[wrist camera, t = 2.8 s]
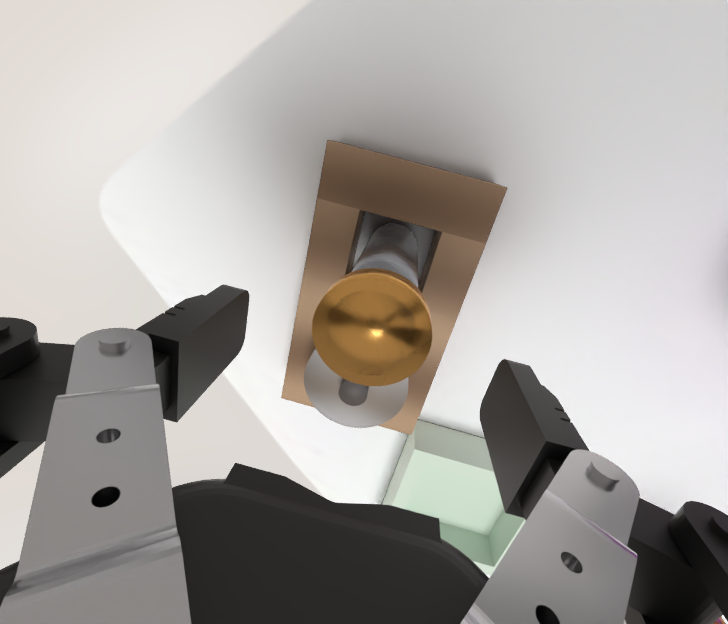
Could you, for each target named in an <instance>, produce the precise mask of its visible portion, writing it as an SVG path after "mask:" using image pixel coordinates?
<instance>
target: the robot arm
mask: <svg viewBox="0 0 728 624" xmlns="http://www.w3.org/2000/svg"><path fill="white" fill-rule="evenodd" d="M248 305H249V293H248V291H246V290H243V289H239V288H235V287H231V286H227V285H221V286H220V287H218V288H217V289H215V290H213V291H212V292H210V293H209V294H207V295H206V296H205V295H199V296H195V297H192V298H188V299H185V300H183V301H182V302H180V303H179V304H177V305H175V307H174V308H173V307H172V308H170V309H169V310H167V311H166V312H165V314H164V313H162V314H161V315H159V316H157V317H156V318H154V319H152V320H151V321H149V322H147V323H146V324H144V325H142V326H141V327H139V328H138V329H136V330H134V329H127V328H109V329H103V330H98V331H95V332H92V333H89V334H87V335H85V336H83V337H81V338H80V339H79V340H78V341H77V342H76V344H75V345H67V344H54V343H40V342H38V336H37V329H36V326H35V325H34V324H33V323H31V322H29V321H26V320H23V319H18V318H4V317H0V478H1V477H2V476H4V475H5V474H6V473H7V472H8V471H10V470H11V469H12V468H13V467H14V466H16V465H17V464H18V463H19V462H20V461H22V460H23V459H24V458H25V457H26V456H27V455H29V454H30V453H31V452H32V451H34V450H35V449H36V448H37V447H38V446H40V445H41V444H42V443H43V442H44V441H46V443H45V447H44V451H43V456H42V461H41V465H40V470H39V474H38V479H37V483H36V488H35V492H34V497H33V502H32V506H31V511H30V515H29V520H28V524H27V529H26V533H25V538H24V542H23V547H22V551H21V556H20V560H19V561H18V562H16V563H14V564H12V565H9V566H7V567H5V568H3V569H1V570H0V624H624V619H625V621H626V624H713V623H714V622H715V621H716V620H717V619H719V618H720V617H721V616H722V615H724V616H725V618H726V619H727V621H728V515H726V514H724V513H723V512H721V511H719V510H717V509H715V508H713V507H711V506H709V505H706V504H703V503H700V502H695V501H689V502H686V503H685V504H684V505H683V506H682V507H681V508H680V510H679V511H678V512H677V513H676V514H675V515H674V514H672V513H670V512H668V511H666V510H664V509H662V508H659V507H657V506H655V505H653V504H651V503H649V502H647V501H645V500H643V499H641V498H639V496H640V494H639V490H638V488H637V486H636V485H635V483H634V482H633V480H632V479H631V478H630V477H629V476H628V475H627V474H626V473H625V472H624V471H623V470H622V469H621V468H619V467H618V466H617V465H615V464H614V463H613V462H611V461H609V460H608V459H606V458H604V457H602V456H600V455H598V454H596V453H593V452H590V451H589V449H588V448H587V446H586V444H585V443H584V441H583V440H582V438H581V436H580V435H579V433H578V432H577V430H576V428H575V427H574V425H573V423H570V419H569V417H568V415H567V414H566V412H564V409H563V407H562V406H561V404H560V402H559V401H558V399H557V398H556V397H555V396H554V395H553V394H552V393H551V392H550V391H549V390H548V389H546V388H545V387H544V386H543V385H541V384H540V382H539V381H538V379H537V377H536V375H535V374H534V372H533V370H532V369H531V367H530V366H529V365H525V364H521V363H517V362H513V361H510V360H506V359H503V360H502V361H501V362H500V363H499V365H498V367H497V369H496V371H495V373H494V376H493V378H492V380H491V382H490V385H489V387H488V389H487V391H486V394H485V396H484V398H483V400H482V403H481V408H480V421H481V425H482V429H483V432H484V436H485V440H486V444H487V447H488V451H489V455H490V458H491V462H492V466H493V470H494V473H495V477H496V481H497V484H498V488H499V492H500V496H501V499H502V503H503V507H504V510H505V513H507V514H511V515H514V516H518V517H522V518H525V521H526V522H525V523H524V525H523V527H522V528H521V530H520V531H519V533H518V534H517V536H516V538H515V539H514V541H513V542H512V544H511V545H510V547H509V549H508V550H507V552H506V553H505V555H504V556H503V558H502V560H501V561H500V563H499V564H498V566H497V567H496V569H495V571H494V572H493V574H492V575H491V577H490V578H488V577H487V576H486V575H485V573H484V572H483V571H482V570H481V569H480V568H479V567H478V566H477V565H476V564H475V563H474V562H473V561H472V560H471V559H470V558H468V557H467V556H466V555H465V554H464V553H462V552H461V551H460V550H459V549H457V548H456V547H454V546H453V545H451V544H450V543H448V542H447V541H445V540H443V539H441V536H440V523H439V518H435V517H432V516H428V515H424V514H421V513H417V512H413V511H410V510H406V509H402V508H399V507H395V506H391V505H380V504H349V503H335V502H332V501H329V500H327V499H326V498H324V497H322V496H320V495H318V494H316V493H315V492H313V491H311V490H309V489H307V488H305V487H303V486H302V485H300V484H298V483H296V482H294V481H292V480H290V479H289V478H287V477H285V476H281V475H277V474H274V473H270V472H266V471H263V470H259V469H256V468H252V467H248V466H245V465H241V464H237V463H235V464H234V466H233V468H232V469H231V471H230V473H229V475H228V476H227V478H226V479H211V480H202V481H196V482H191V483H187V484H183V485H179V486H176V487H173V488H172V486H171V478H170V470H169V462H168V454H167V445H166V437H165V429H164V420H163V419H166V420H170V421H173V422H178V421H179V419H180V418H181V417H182V416H183V415H184V414H185V413H186V411H188V409H189V408H190V407H191V406H192V405H193V404H194V403H195V402H196V400H197V399H198V398H199V397H200V396H201V395H202V394H203V393H204V392H205V390H206V389H207V388H208V387H209V386H210V385H211V384H212V383H213V382H214V380H215V379H216V378H217V377H218V376H219V375H220V374H221V373H222V372H223V370H224V369H225V368H226V367H227V366H228V365H229V364H230V363H231V361H232V360H233V359H234V358H235V357H236V356H237V355H238V353H239V352H240V350H241V348H242V345H243V343H244V339H245V332H246V323H247V314H248Z"/></svg>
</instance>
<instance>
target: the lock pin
mask: <svg viewBox="0 0 728 624" xmlns="http://www.w3.org/2000/svg"><path fill="white" fill-rule="evenodd" d="M312 336H313V341H314V345H315V348H316V350H317V352H318V354H319V356H320V357H321V359H322V360H323V361H324V363H325V364H326V365H327V366H328V367H329V368H330V369H331V370H332V371H333V372H335V373H336V374H337V375H339V376H340V377H342V378H344V379H346V380H348V381H350V382H353V383H356V384H360V385H365V386H386V385H391V384H395V383H397V382H400V381H402V380H404V379H406V378H408V377H409V376H411V375H412V374H413V373H415V372H416V371H417V370H418V369H419V368H420V367H421V365H422V364H423V363H424V361H425V360H426V358H427V356H428V354H429V351H430V348H431V343H432V324H431V315H430V310H429V307H428V304H427V301H426V299H425V297H424V296H423V294H422V293H421V291H420V290H419V289H418V246H417V240H416V238H415V236H414V234H413V233H412V232H411V230H409V229H408V228H407V227H405V226H403V225H401V224H396V223H391V224H386V225H383V226H381V227H380V228H378V229H377V230H376V231H375V232H374V233H373V235H372V236H371V238H370V240H369V242H368V243H367V245H366V247H365V249H364V251H363V252H362V254H361V256H360V258H359V260H358V261H357V263H356V265H355V267H354V268H353V270H352V272H350V273H348V274H346V275H344V276H343V277H341V278H339V279H338V280H337V281H336V282H335V283H333V285H332V286H331V287H330V288H329V289H328V291H327V292H326V294H325V295H324V297H323V298H322V300H321V301H320V303H319V305H318V306H317V308H316V311H315V313H314V317H313V321H312Z"/></svg>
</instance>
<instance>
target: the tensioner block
mask: <svg viewBox="0 0 728 624" xmlns="http://www.w3.org/2000/svg"><path fill="white" fill-rule="evenodd" d="M506 190H507V187H504V186H501V185H498V184H495V183H491V182H487V181H483V180H480V179H476V178H472V177H468V176H465V175H461V174H457V173H453V172H450V171H446V170H442V169H438V168H435V167H431V166H427V165H423V164H419V163H416V162H412V161H408V160H404V159H401V158H397V157H393V156H389V155H386V154H382V153H378V152H374V151H371V150H367V149H363V148H359V147H356V146H352V145H348V144H344V143H340V142H336V141H330V140H327V145H326V151H325V157H324V162H323V168H322V173H321V179H320V184H319V190H318V196H317V201H316V207H315V212H314V218H313V224H312V229H311V235H310V240H309V246H308V251H307V257H306V263H305V268H304V274H303V279H302V285H301V290H300V296H299V302H298V307H297V313H296V318H295V324H294V330H293V335H292V341H291V346H290V352H289V357H288V363H287V369H286V374H285V380H284V385H283V391H282V397H281V398H283V399H287V400H290V401H294V402H297V403H301V404H304V405H308V406H311V407H315V408H316V409H317V410H318V411H319V412H320V413H321V414H323V415H324V416H325V417H327V418H328V419H330V420H332V421H334V422H336V423H338V424H341V425H344V426H349V427H355V428H366V427H373V426H377V425H378V426H382V427H385V428H389V429H392V430H396V431H399V432H403V433H406V434H410V435H412V433H413V430H414V428H415V425H416V423H417V420H418V417H419V415H420V412H421V410H422V407H423V404H424V402H425V399H426V397H427V394H428V392H429V389H430V386H431V384H432V381H433V379H434V376H435V374H436V371H437V368H438V366H439V363H440V361H441V358H442V355H443V353H444V350H445V348H446V345H447V343H448V340H449V337H450V335H451V332H452V330H453V327H454V325H455V322H456V319H457V317H458V314H459V312H460V309H461V306H462V304H463V301H464V299H465V296H466V294H467V291H468V288H469V286H470V283H471V281H472V278H473V276H474V273H475V270H476V268H477V265H478V263H479V260H480V257H481V255H482V252H483V250H484V247H485V245H486V242H487V239H488V237H489V234H490V232H491V229H492V227H493V224H494V221H495V219H496V216H497V214H498V211H499V208H500V206H501V203H502V201H503V198H504V196H505V193H506ZM365 211H367V212H370V213H374V214H378V215H381V216H385V217H389V218H393V219H396V220H400V221H404V222H407V223H411V224H415V225H418V226H422V227H426V228H430V229H433V230H436V233H435V236H434V239H433V242H432V245H431V248H430V252H429V255H428V258H427V261H426V264H425V267H424V270H423V273H422V276H421V279H420V282H419V285H418V289H419V290H420V291H421V293H422V294H423V296H424V297H425V299H426V301H427V304H428V307H429V310H430V315H431V324H432V343H431V348H430V351H429V354H428V356H427V358H426V360H425V361H424V363H423V364H422V365H421V367H420V368H419V369H418V370H417V371H416V372H415V373H413V374H412V375H411V376H409V377H408V378H406V379H404V380H402V381H400V382H397V383H395V384H391V385H386V386H365V385H360V384H356V383H353V382H350V381H348V380H346V379H344V378H342V377H340V376H339V375H337V374H336V373H335V372H333V371H332V370H331V369H330V368H329V367H328V366H327V365H326V364H325V363H324V361H323V360H322V359H321V357H320V356H319V354H318V352H317V350H316V348H315V345H314V341H313V336H312V321H313V317H314V313H315V311H316V308H317V306H318V305H319V303H320V301H321V300H322V298H323V297H324V295H325V294H326V292H327V291H328V289H329V288H330V287H331V286H332V285H333V283H335V282H336V281H337V280H338V279H339V278H341V277H343V276H344V275H346V274H348V273H350V272H351V268H352V264H353V260H354V256H355V251H356V247H357V243H358V239H359V235H360V230H361V226H362V222H363V218H364V213H365Z"/></svg>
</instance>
